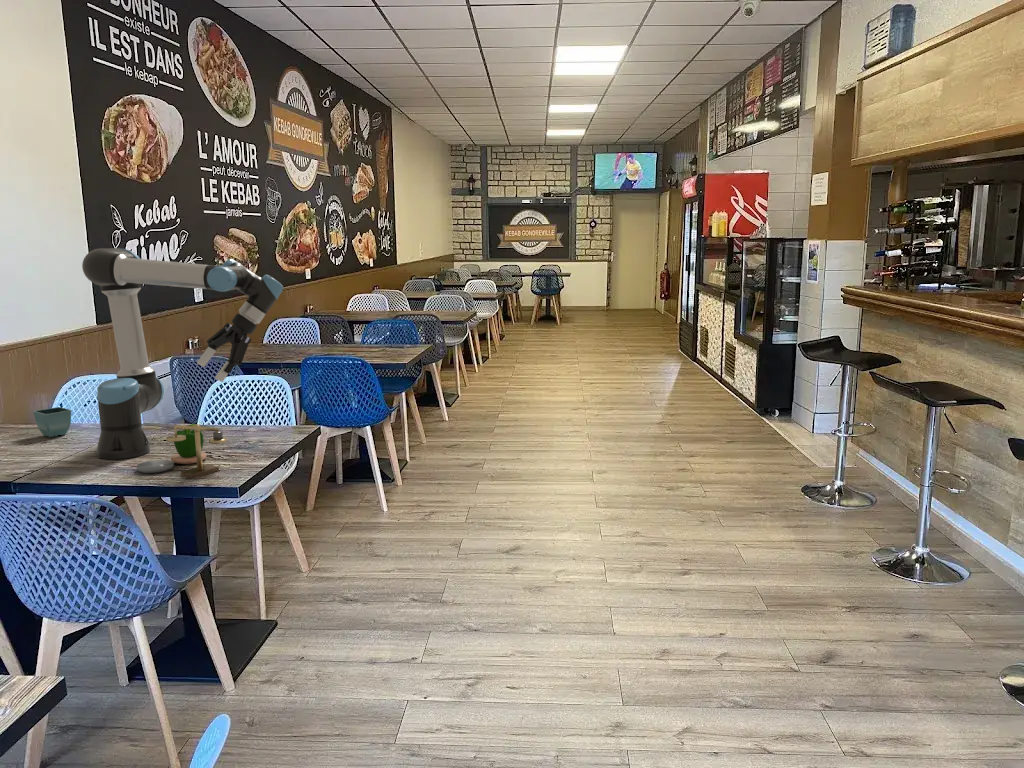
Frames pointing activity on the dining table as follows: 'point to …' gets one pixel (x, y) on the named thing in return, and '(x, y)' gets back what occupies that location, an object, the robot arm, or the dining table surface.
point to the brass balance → (198, 449)
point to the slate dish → (155, 466)
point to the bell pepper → (188, 443)
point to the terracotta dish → (186, 459)
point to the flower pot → (53, 421)
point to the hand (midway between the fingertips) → (209, 372)
